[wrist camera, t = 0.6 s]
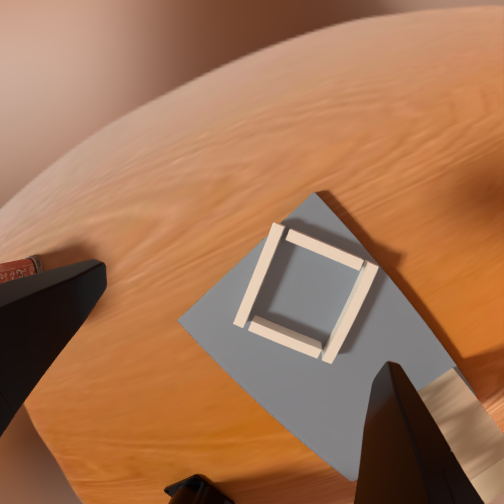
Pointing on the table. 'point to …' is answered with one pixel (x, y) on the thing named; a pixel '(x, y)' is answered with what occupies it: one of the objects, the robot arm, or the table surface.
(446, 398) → the birch pillar
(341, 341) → the socket
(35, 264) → the lighter
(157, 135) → the table surface
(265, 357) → the plate
